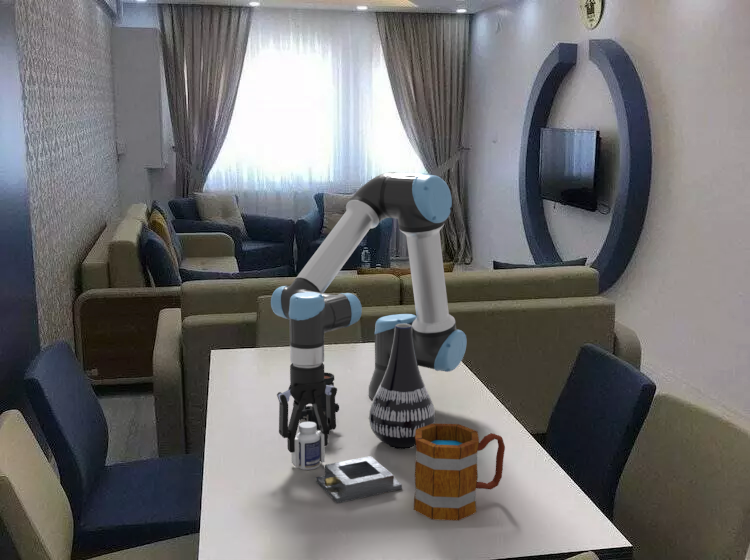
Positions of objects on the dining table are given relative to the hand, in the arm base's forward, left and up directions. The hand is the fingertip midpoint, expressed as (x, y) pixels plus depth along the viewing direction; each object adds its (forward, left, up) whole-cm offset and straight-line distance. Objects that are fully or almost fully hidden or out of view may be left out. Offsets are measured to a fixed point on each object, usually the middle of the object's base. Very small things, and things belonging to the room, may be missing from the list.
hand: (308, 462), depth 179 cm
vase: (-25, -2, -1) cm, 25 cm away
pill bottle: (0, 0, -1) cm, 1 cm away
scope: (-11, -20, -1) cm, 23 cm away
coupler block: (-6, +14, -1) cm, 15 cm away
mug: (-21, +30, -1) cm, 37 cm away
